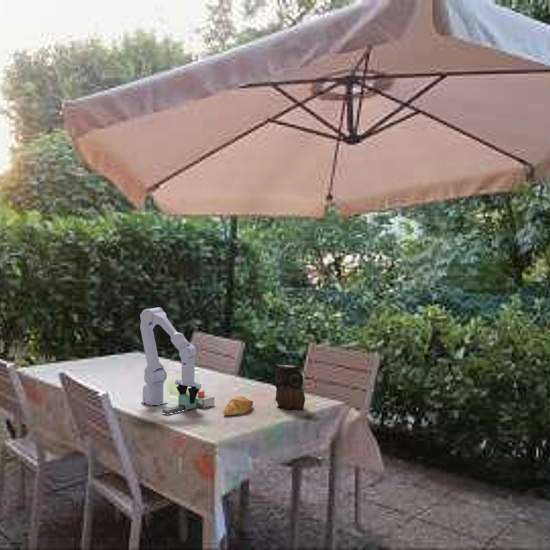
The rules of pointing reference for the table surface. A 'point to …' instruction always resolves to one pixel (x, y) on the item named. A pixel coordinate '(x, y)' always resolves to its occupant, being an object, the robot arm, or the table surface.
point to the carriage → (186, 401)
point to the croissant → (238, 406)
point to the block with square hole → (205, 401)
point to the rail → (175, 409)
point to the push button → (201, 394)
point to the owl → (289, 387)
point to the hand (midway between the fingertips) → (187, 402)
